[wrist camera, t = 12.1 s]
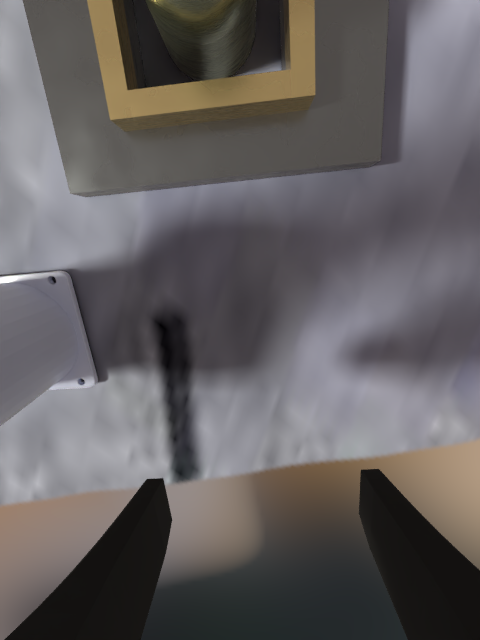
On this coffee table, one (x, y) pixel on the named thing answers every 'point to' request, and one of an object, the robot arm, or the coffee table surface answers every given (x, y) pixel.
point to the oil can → (206, 34)
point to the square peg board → (210, 99)
